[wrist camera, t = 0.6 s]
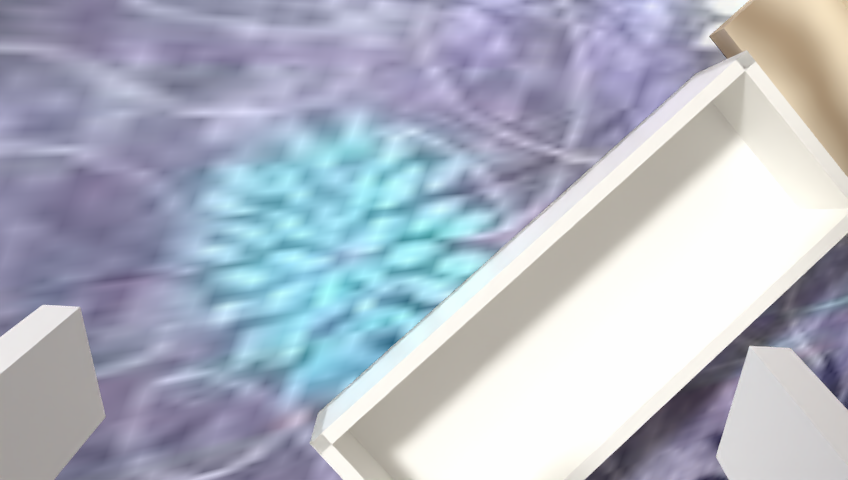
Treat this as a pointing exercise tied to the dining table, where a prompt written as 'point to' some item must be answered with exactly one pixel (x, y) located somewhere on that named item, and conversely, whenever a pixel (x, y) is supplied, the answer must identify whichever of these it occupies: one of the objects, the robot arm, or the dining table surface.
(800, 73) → the wooden pedestal stand
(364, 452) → the tray
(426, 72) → the dining table surface
